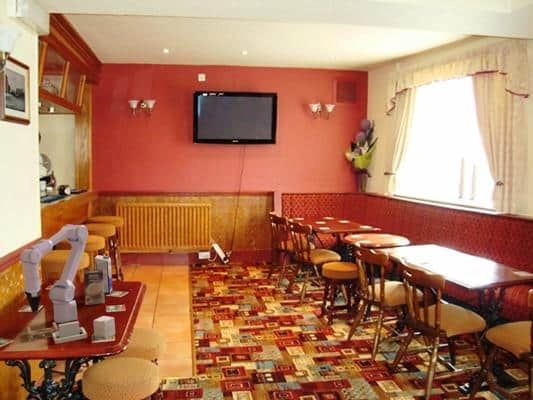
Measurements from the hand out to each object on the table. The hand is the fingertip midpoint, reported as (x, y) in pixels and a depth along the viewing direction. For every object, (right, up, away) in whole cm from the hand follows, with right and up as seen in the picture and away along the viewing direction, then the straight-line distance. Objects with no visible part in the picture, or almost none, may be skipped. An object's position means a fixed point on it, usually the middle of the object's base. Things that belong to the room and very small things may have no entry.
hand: (34, 309), depth 213 cm
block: (+18, -10, -7) cm, 22 cm away
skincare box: (+31, -10, -4) cm, 33 cm away
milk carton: (+11, -4, +58) cm, 59 cm away
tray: (+18, -11, -7) cm, 22 cm away
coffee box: (+12, -6, +41) cm, 43 cm away
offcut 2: (+9, -10, -5) cm, 14 cm away
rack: (+5, -11, -3) cm, 12 cm away
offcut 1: (+5, -10, -7) cm, 13 cm away
